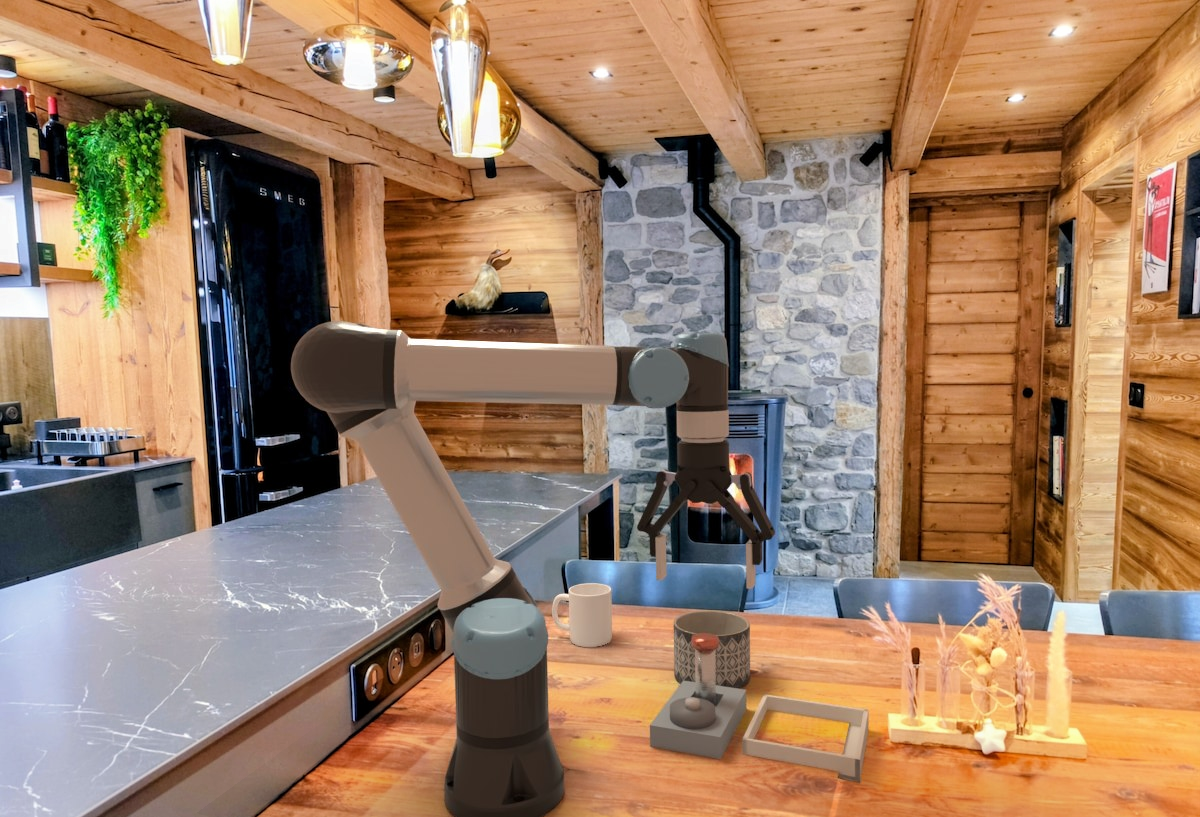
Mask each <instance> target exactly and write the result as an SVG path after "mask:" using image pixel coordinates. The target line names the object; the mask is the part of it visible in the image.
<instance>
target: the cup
mask: <svg viewBox="0 0 1200 817" xmlns="http://www.w3.org/2000/svg"><path fill="white" fill-rule="evenodd" d="M560 601H566V602H568V612H569V613H568V616H569V619H568V622H569V623H563V622H562V621H561V620H560V618H559V616H558V607H559V603H560ZM612 606H613V605H612V587H611V586H609V585H607V584H605V583H596V582H595V583H594V582H590V583H587V582H586V583H579V584H576V585H573V586H571V587H569V588H568V593H560V594H558V595H556V596H555V597H554V599H553V603H552V607H551V608H552V609H551V615H552V620H553V623H554V624H555V626H556V627H557V628H558V629H561V630H563V631H567V632H569V640H570V642H571V643H572V644H573V645H574V644H575V645H574V646H577V647H580V646H581V648H598V647H597V646H600V647H603V646H602V645H604V646H606V645H607V643H608V644H609V643H610V642H611V641H612V638H613V616H612V614H613V613H612V612H613V611H612V610H613V609H612V608H613V607H612ZM605 644H606V645H605Z"/></svg>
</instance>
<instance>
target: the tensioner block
mask: <svg viewBox="0 0 1200 817" xmlns="http://www.w3.org/2000/svg"><path fill="white" fill-rule="evenodd" d="M746 711H747V689H742V688H740V689H738V688H731V687H724V686H717V685H716V706H714V704H713V703H711V702H710V701H707V700H705V699H701V698H696V686H695V682H690V681H682V683H681V684H680V683H679V686H678V687H677V688H676V689H675V691H674V692H673V694H671V696H670V698H668V700H667V702H665V704H664V706H663V707H662V708H661V709H660V711H659V712H658V713H657V715H656V716H655V717H654V719H653V720H652V722H651V723H650V724H649V747H652V748H657V749H662V750H669V751H673V752H679V753H683V754H689V755H695V756H700V757H706V758H712V759H717V760H721V759H722V757H723V755H724V754H725V752H726V750H727V748H728V746H729V744H730V742H731V740H732V738H733V736H734V735H735V732H736V730H737V728H738V727H739V725H740V723H741V721H742V719H743V717H744V714H745V713H746Z"/></svg>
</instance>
